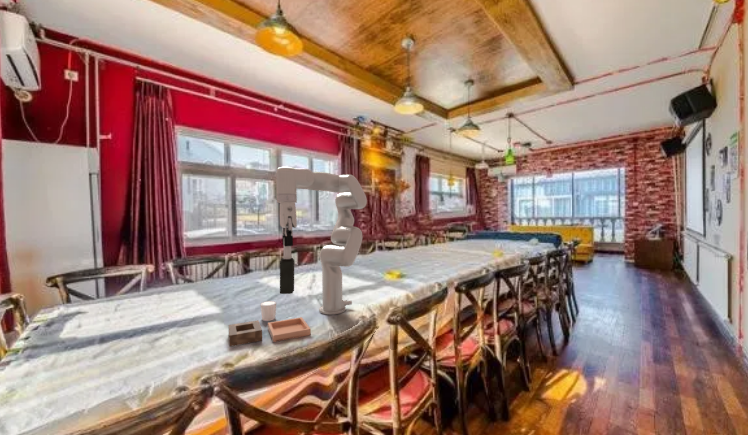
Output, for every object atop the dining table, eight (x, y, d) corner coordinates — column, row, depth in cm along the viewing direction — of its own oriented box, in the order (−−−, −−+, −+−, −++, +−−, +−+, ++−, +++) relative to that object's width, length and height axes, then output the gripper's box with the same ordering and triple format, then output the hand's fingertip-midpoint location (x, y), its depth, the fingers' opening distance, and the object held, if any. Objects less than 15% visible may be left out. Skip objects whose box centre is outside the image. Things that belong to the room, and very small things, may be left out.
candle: (281, 290, 125) (282, 228, 124) (294, 290, 125) (295, 229, 124) (279, 293, 120) (279, 229, 119) (292, 293, 120) (293, 229, 119)
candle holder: (258, 329, 125) (258, 320, 125) (262, 340, 115) (262, 329, 115) (228, 335, 120) (228, 324, 120) (229, 346, 110) (229, 335, 110)
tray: (301, 322, 132) (301, 317, 132) (310, 335, 120) (310, 328, 120) (267, 328, 126) (267, 322, 126) (273, 342, 114) (273, 335, 114)
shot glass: (271, 321, 134) (271, 306, 133) (257, 320, 135) (257, 305, 135) (279, 316, 140) (279, 301, 140) (265, 315, 142) (265, 300, 141)
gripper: (301, 198, 115) (302, 247, 116) (292, 199, 130) (292, 242, 131) (280, 198, 112) (281, 248, 113) (273, 199, 126) (274, 243, 127)
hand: (287, 245), depth 122 cm, fingers closed on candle, 2 cm apart
